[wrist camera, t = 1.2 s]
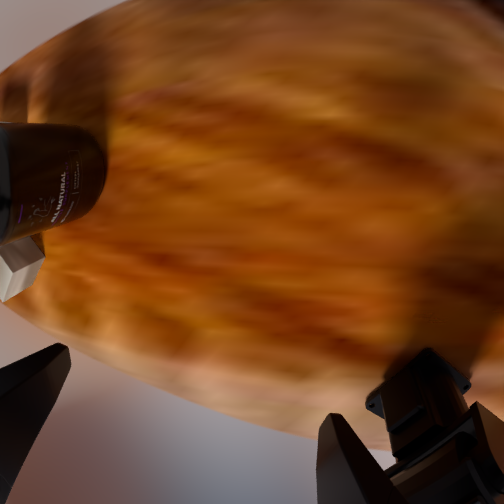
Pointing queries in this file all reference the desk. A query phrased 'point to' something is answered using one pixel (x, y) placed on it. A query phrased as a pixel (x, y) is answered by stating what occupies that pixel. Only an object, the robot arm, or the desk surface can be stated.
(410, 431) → the robot arm
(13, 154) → the supplement bottle
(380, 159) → the desk surface
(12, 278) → the birch block
